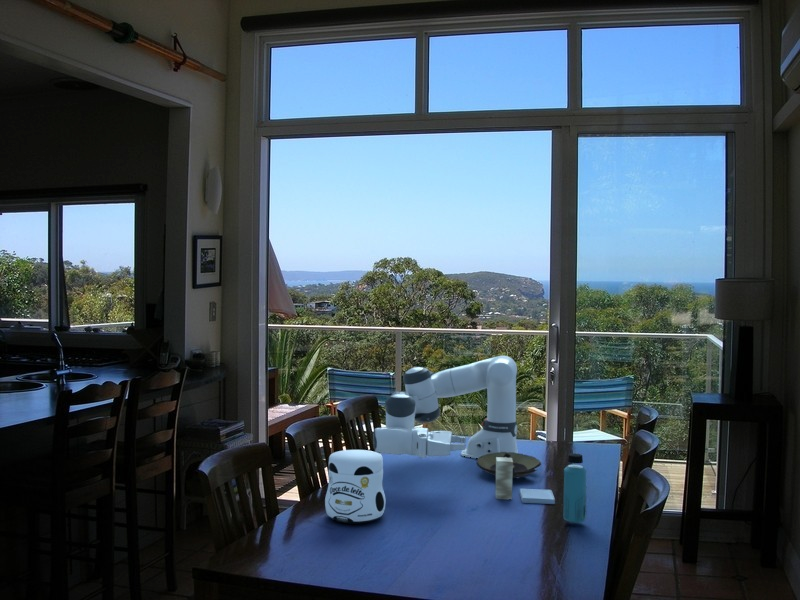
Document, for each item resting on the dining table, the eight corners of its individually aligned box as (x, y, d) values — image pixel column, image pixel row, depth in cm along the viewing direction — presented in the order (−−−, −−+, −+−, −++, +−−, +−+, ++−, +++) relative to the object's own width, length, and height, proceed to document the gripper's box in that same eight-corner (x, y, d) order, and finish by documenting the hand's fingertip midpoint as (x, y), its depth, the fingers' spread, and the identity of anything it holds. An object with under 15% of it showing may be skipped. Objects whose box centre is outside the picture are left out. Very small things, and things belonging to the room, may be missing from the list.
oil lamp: (548, 471, 261) (549, 450, 261) (521, 492, 235) (522, 468, 235) (490, 462, 272) (491, 442, 272) (459, 481, 246) (459, 459, 245)
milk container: (330, 530, 196) (331, 465, 195) (320, 510, 213) (321, 450, 212) (391, 526, 201) (393, 461, 200) (377, 506, 217) (378, 447, 217)
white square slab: (522, 502, 223) (522, 497, 223) (519, 493, 233) (519, 488, 233) (554, 504, 222) (554, 499, 222) (551, 494, 232) (551, 489, 232)
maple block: (495, 498, 227) (496, 461, 227) (495, 494, 232) (496, 457, 232) (511, 499, 226) (512, 461, 226) (511, 494, 231) (511, 457, 231)
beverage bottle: (586, 529, 201) (588, 457, 200) (562, 527, 202) (564, 456, 201) (585, 521, 207) (587, 452, 206) (561, 519, 208) (563, 450, 208)
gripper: (424, 444, 242) (465, 445, 240) (419, 459, 221) (465, 461, 220) (424, 425, 241) (466, 427, 240) (420, 438, 221) (465, 440, 220)
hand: (465, 443), depth 230 cm, fingers open, 8 cm apart
